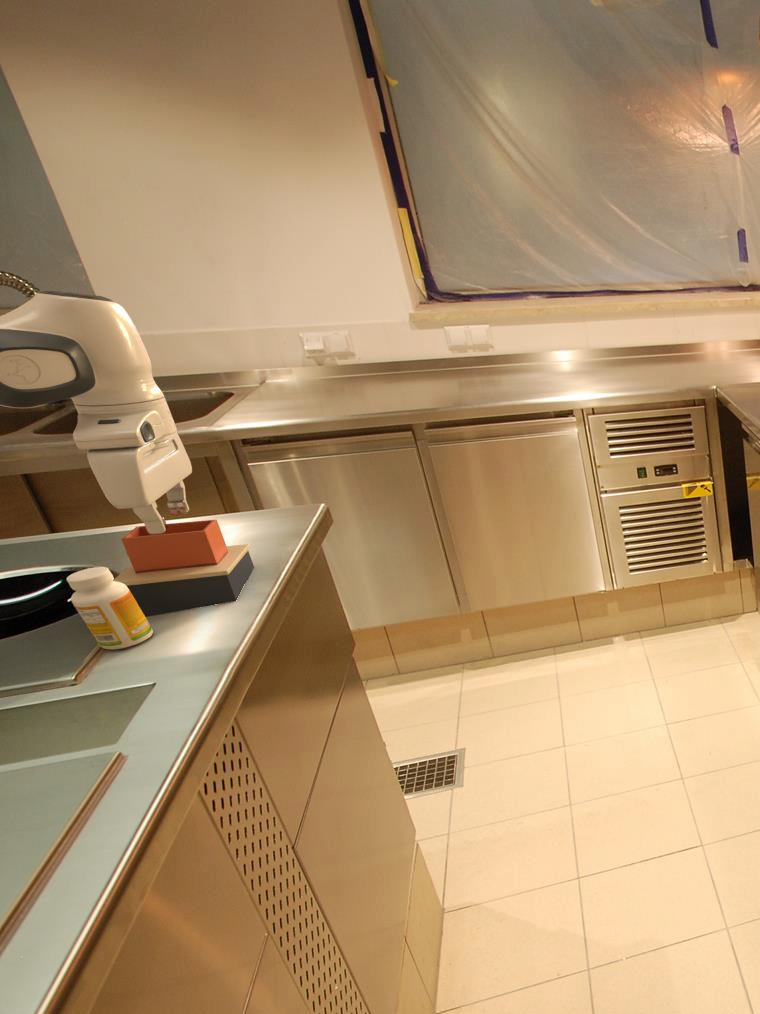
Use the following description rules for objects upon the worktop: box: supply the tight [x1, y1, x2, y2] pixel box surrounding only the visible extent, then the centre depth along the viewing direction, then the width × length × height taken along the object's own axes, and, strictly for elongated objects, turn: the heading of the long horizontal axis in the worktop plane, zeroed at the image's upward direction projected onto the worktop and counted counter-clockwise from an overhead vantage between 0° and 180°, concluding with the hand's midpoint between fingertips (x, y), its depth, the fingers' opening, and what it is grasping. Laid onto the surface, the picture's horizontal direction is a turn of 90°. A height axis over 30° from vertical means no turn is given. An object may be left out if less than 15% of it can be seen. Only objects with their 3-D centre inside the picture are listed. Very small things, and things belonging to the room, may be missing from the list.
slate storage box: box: [113, 543, 255, 618], centre depth 121 cm, size 13×13×6 cm
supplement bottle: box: [66, 566, 154, 650], centre depth 107 cm, size 5×5×10 cm
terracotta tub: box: [120, 519, 228, 573], centre depth 118 cm, size 9×6×5 cm, turn 116°
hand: (170, 522), depth 117 cm, fingers open, 8 cm apart
